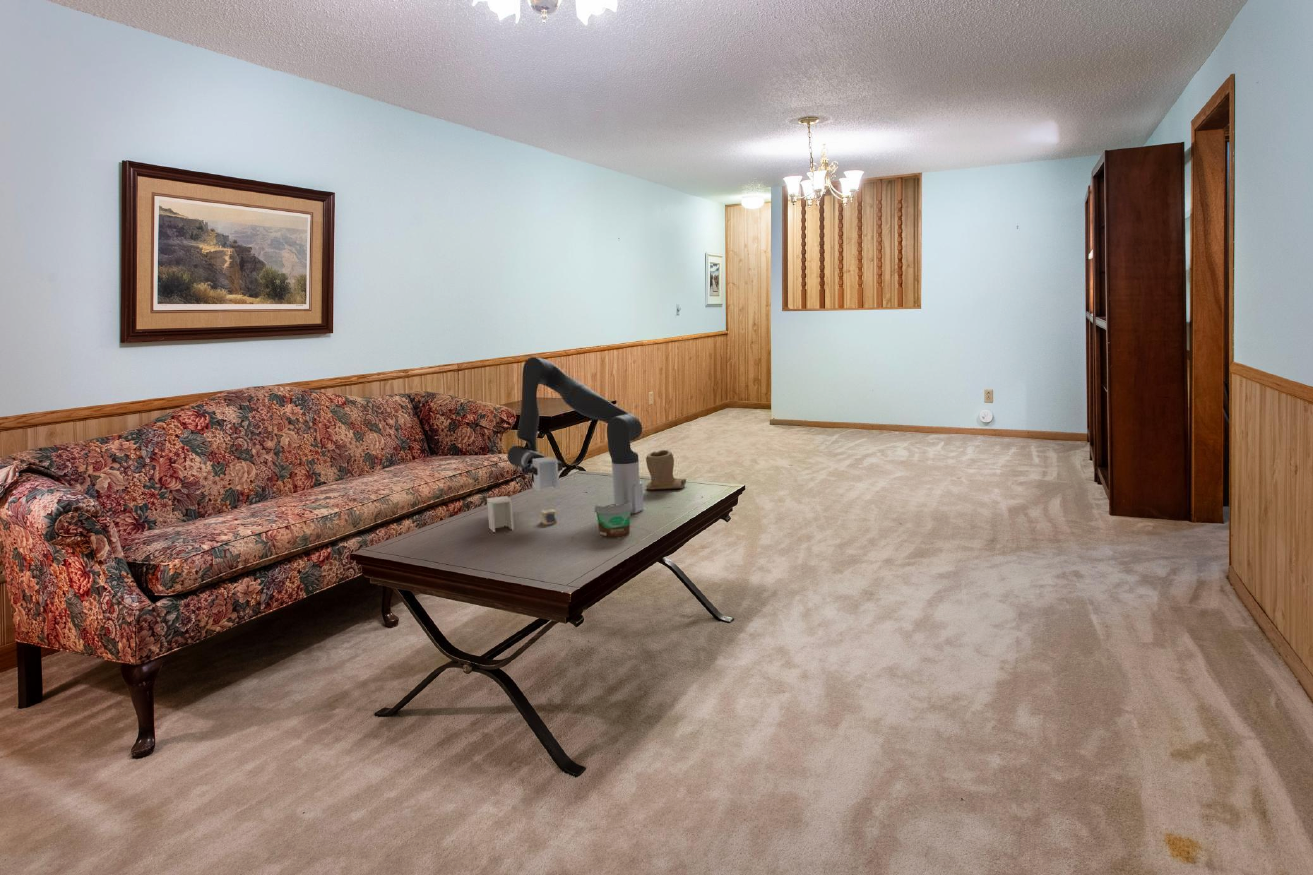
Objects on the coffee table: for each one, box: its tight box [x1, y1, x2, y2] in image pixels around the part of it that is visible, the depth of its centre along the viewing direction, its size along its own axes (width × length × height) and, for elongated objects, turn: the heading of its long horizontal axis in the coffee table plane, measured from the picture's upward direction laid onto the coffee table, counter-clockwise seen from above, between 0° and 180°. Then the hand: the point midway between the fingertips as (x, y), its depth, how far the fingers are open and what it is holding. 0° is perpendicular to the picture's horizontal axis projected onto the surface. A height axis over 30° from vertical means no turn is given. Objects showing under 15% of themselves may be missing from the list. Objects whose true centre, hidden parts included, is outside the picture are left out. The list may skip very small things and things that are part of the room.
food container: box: [594, 500, 632, 539], centre depth 259 cm, size 12×6×10 cm, turn 117°
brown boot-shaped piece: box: [645, 449, 687, 490], centre depth 324 cm, size 15×12×15 cm
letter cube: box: [540, 508, 558, 525], centre depth 281 cm, size 4×4×4 cm
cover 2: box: [532, 456, 560, 493], centre depth 279 cm, size 7×7×10 cm
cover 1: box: [486, 495, 515, 533], centre depth 275 cm, size 7×7×10 cm
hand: (547, 470), depth 277 cm, fingers closed on cover 2, 6 cm apart
